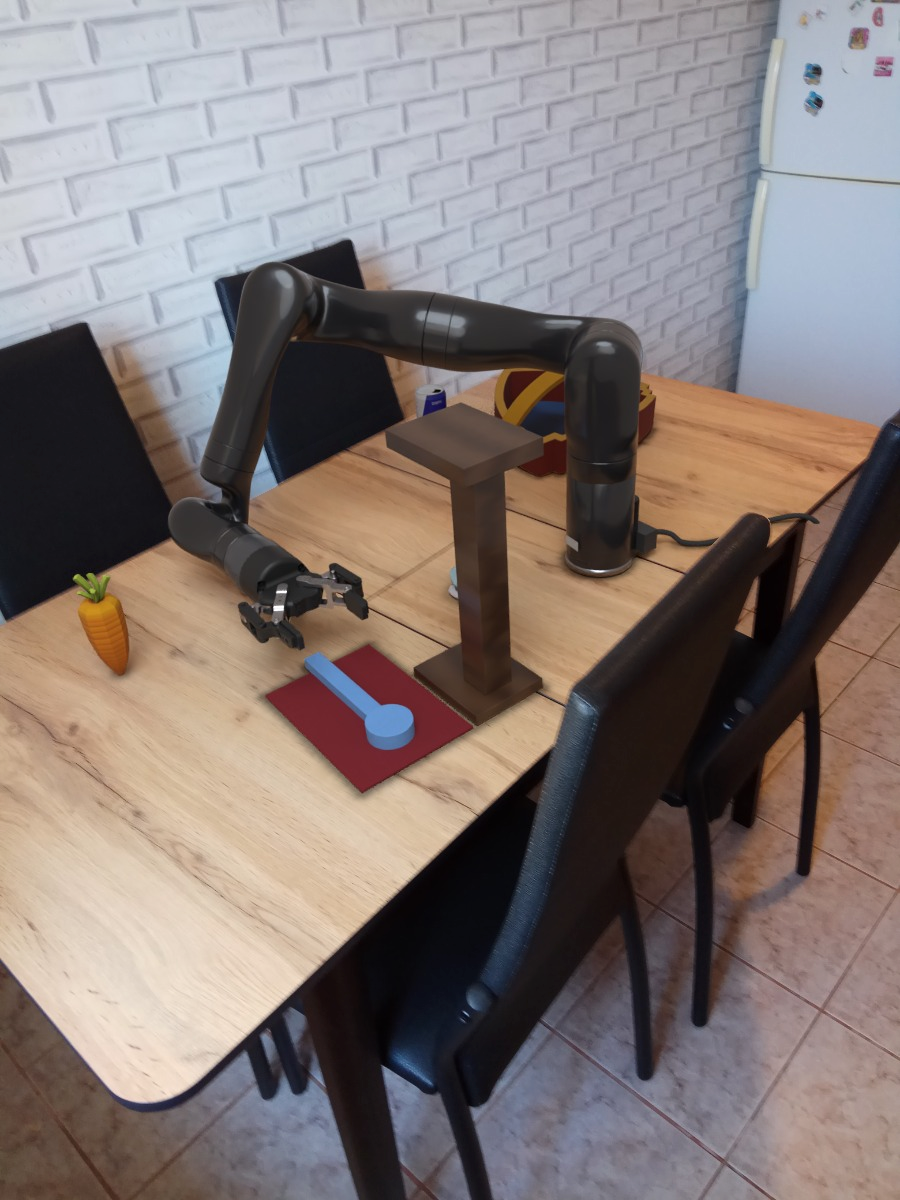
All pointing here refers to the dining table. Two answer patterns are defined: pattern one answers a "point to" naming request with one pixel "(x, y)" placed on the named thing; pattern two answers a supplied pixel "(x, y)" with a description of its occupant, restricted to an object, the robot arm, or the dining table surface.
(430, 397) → the energy drink
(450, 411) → the stand
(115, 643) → the carrot
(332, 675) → the blue disc paddle
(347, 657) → the cloth
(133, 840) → the dining table surface
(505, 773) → the dining table surface
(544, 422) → the decorative basket
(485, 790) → the dining table surface
